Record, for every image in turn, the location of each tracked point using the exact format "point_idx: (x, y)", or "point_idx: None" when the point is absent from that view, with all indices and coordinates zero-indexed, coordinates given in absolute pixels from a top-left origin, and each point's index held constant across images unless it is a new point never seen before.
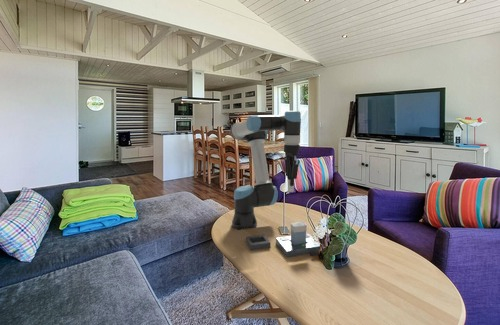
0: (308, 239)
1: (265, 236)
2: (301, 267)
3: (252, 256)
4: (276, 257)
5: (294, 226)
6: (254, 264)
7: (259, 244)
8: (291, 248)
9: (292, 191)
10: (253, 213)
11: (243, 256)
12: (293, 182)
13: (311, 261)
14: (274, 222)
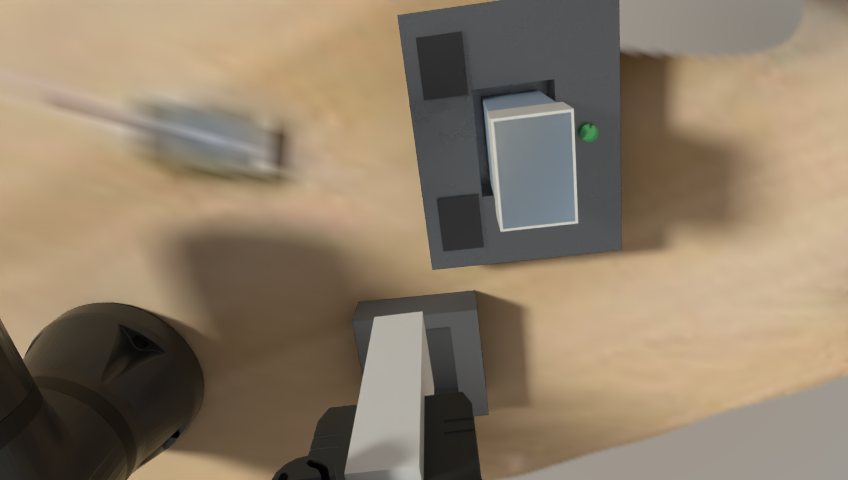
0: (499, 54)
1: None
2: (709, 179)
3: (530, 388)
4: (571, 279)
5: (576, 221)
6: (607, 391)
7: (483, 369)
8: (597, 214)
9: (425, 335)
10: (84, 376)
11: (519, 425)
12: (475, 444)
13: (669, 99)
14: (66, 174)
